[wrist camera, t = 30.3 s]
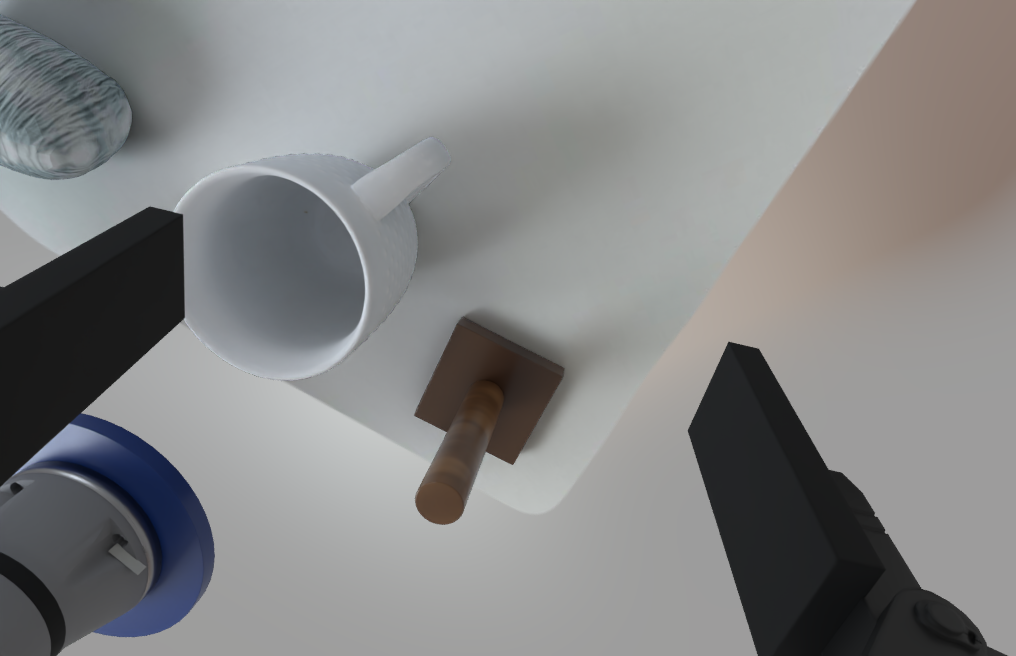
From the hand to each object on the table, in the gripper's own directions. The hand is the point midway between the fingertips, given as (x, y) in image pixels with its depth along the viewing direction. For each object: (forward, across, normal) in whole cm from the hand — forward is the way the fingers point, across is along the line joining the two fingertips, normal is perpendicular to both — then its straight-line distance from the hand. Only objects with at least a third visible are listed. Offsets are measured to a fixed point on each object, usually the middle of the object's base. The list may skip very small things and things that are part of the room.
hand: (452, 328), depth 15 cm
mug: (+27, -7, -8) cm, 30 cm away
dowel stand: (+25, +3, -18) cm, 31 cm away
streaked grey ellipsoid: (+31, -30, -6) cm, 44 cm away
